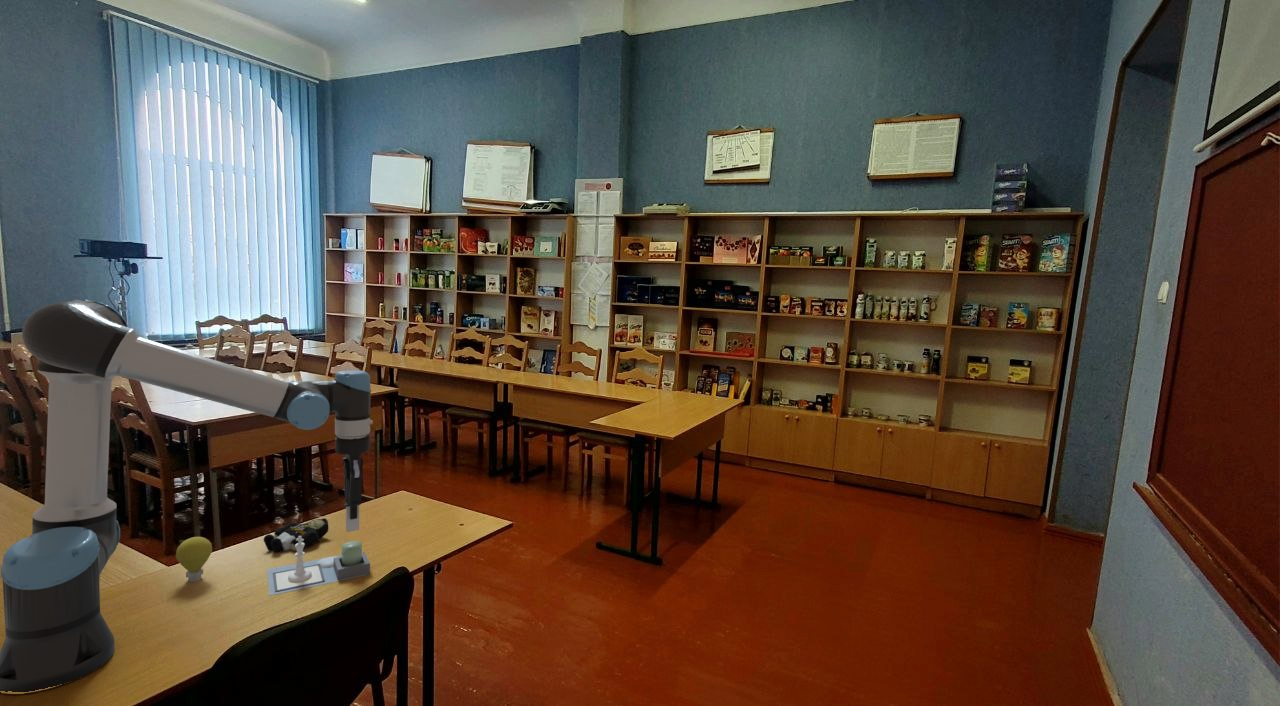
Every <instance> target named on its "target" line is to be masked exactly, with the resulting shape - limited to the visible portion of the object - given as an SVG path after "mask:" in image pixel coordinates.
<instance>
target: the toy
mask: <svg viewBox="0 0 1280 706" xmlns="http://www.w3.org/2000/svg"><path fill="white" fill-rule="evenodd" d="M328 533H329V521H328V520H327V518H316V519H315V518H314V519H311V520H310V521H309V522H306V523H299V522H295V521H293V522H290V523H288V524H286V525H284V526H282V527H280V528H278V529H276V530H275V531H274V535H273V534H271V533H270V534H266V535H265V536H264V537H263V542H264V545H265V547H266V548H267V550H268V551H269V552H273V553H274V554H278V553H282V552H284V551H289V550H291V551H296V552H297V550H296V548H295V544H297V543H298V541H296V539H297V538H298V536H301V539H304V541H301V542H302V543H305V545H304V548H303V550H304V549H306V548H307V547H309V546H312V545H315V544H316V543H318V542H319V541H320V540H321V539H322V538H323V537H325V535H326V534H328Z"/></svg>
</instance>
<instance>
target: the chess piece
mask: <svg viewBox="0 0 1280 706" xmlns="http://www.w3.org/2000/svg"><path fill="white" fill-rule="evenodd" d="M296 541H298V543H297V544H295V548H296V552H295V553H294V556H295V557H297V558H296V564H297V565H296V570H294V571H293V572H291V573H290V574H289V575H288V581H291V582H300V581H304V580H307V579H308V578H310V577H311V576H312V574H311V571H310V570H308V569H305V568H304V566H303V562H304V560H303V556H305V555H306V552H305V551H303V550H304V549H305V548H304V545H305V543H302V542H301V541H304V539H301V536H298V538H297V539H296ZM303 548H304V549H303Z"/></svg>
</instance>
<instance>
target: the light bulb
mask: <svg viewBox="0 0 1280 706" xmlns="http://www.w3.org/2000/svg"><path fill="white" fill-rule="evenodd" d="M212 553H213V546H212V542H211V541H210V540H209V539H207V538H206V537H203V536H193V537H190V538H188V539H185V540H183V542H181V543H180V544H179V545H178V547H177V549H176V552H175V558H176V560H177V562H178V563H179V565H181V566H182V567H183V568H184V569H185V570H186V571H185V577H186V578H188V579H187V580H188V582H193V583H194V582H198V581H200V580H201V579H202V575H203V574H204V568H203V566H204V565H206V563H207V561H208V560H209V558H210V557H211V555H212Z"/></svg>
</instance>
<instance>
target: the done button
mask: <svg viewBox="0 0 1280 706" xmlns="http://www.w3.org/2000/svg"><path fill="white" fill-rule="evenodd" d="M362 552H363V543H362V542H361V541H360V540H359V541H358V540H353V541H347V542H345V543H343V544H341V555H342V566H350V565H355V564H360V563H361V562H362Z"/></svg>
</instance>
